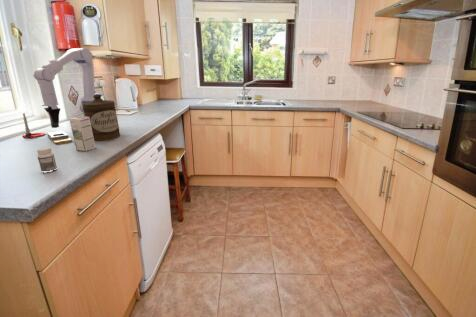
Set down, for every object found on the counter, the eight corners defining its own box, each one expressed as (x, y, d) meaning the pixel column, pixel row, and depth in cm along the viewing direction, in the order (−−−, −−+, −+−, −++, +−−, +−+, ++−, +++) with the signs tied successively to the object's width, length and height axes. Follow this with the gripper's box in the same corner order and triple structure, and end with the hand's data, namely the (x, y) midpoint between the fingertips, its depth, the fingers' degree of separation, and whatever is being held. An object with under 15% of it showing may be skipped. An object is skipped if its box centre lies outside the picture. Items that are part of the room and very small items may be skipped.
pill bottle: (46, 168, 101) (40, 146, 98) (59, 168, 102) (54, 146, 99) (38, 173, 97) (32, 151, 94) (52, 173, 97) (47, 150, 94)
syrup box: (96, 148, 125) (90, 116, 120) (85, 152, 120) (78, 118, 115) (86, 147, 127) (80, 115, 122) (75, 150, 122) (68, 118, 117)
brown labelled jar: (98, 143, 133) (89, 96, 126) (83, 138, 141) (74, 94, 134) (125, 136, 144) (119, 93, 137) (110, 132, 152) (103, 92, 145)
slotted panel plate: (63, 135, 149) (62, 130, 148) (72, 141, 136) (71, 137, 135) (48, 137, 145) (47, 132, 144) (55, 144, 131) (54, 139, 131)
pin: (59, 125, 141) (56, 110, 139) (61, 127, 139) (58, 112, 136) (49, 126, 139) (46, 111, 136) (51, 128, 136) (48, 113, 133)
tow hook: (35, 134, 153) (20, 138, 145) (30, 111, 150) (15, 113, 141) (49, 134, 152) (35, 138, 143) (44, 111, 148) (29, 113, 140)
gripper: (36, 93, 136) (43, 121, 140) (41, 96, 125) (48, 125, 130) (53, 92, 140) (59, 119, 145) (59, 94, 130) (65, 123, 134)
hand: (55, 122), depth 138 cm, fingers closed on pin, 4 cm apart
